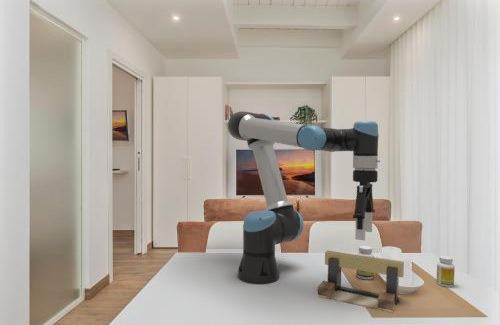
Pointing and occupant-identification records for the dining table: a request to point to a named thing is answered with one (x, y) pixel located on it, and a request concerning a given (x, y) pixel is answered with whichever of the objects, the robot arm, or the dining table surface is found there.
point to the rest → (357, 297)
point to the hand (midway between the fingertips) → (364, 235)
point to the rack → (391, 287)
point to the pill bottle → (367, 252)
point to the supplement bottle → (445, 272)
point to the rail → (365, 263)
